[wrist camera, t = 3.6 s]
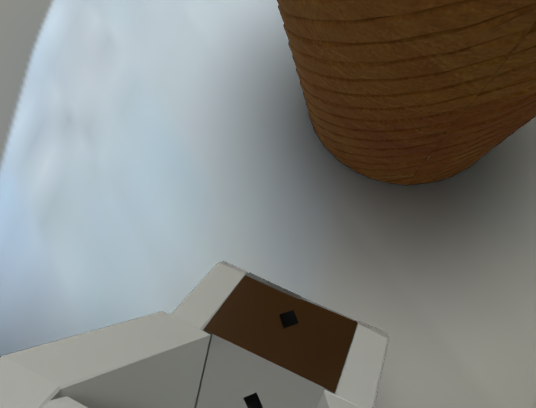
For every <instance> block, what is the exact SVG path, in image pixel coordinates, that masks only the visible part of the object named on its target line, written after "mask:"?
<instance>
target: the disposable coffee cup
mask: <svg viewBox="0 0 536 408" xmlns="http://www.w3.org/2000/svg"><path fill="white" fill-rule="evenodd" d="M277 2H278V4H279V6H278V8H279V11H280V14H281V16H282V19H283V22H284V25H283V26H284V29H285V31H286V34H287V36H288V39H289V47H290V49H291V51H292V54H293V60H294V62H295V65H296V67H297V68H296V71H297V73H298V76H299V79H300V84H301V87H302V89H303V94H304V97H305V100H306V105H307V108H308V113H309V117H310V120H311V122H312V125H313V128H314V131H315V132H316V134H317V135H318V137H319V139H320V140H321V142H322V143H323V145H324V146H325V147H326V148H327V149H328V150H329V151H330V152H331V153H332V154H333V155H334V156H335V157H336V158H337V159H338V160H339V161H340V162H342V163H343V164H345V165H346V166H348V167H350V168H351V169H353V170H354V171H356V172H357V173H360V174H362V175H364V176H367V177H369V178H372V179H376V180H380V181H384V182H388V183H393V184H403V185H413V184H421V183H429V182H436V181H439V180H442V179H446V178H449V177H452V176H454V175H456V174H457V173H459V172H461V171H463V170H465V169H467V168H469V167H470V166H471V165H473V164H474V163H475V162H476V161H477V160H479V159H480V158H481V157H482V156H484V155H485V154H486V153H487V152H489V151H490V150H491V149H492V148H494V147H495V146H497V145H498V144H500V143H501V142H502V141H503V140H505V139H506V138H507V137H508V136H510V135H511V134H513V133H514V132H515V131H516V130H518V129H519V128H520V127H522V126H523V125H525V124H526V123H528V122H529V121H530V120H531V119H532V118H534V117H535V116H536V0H277Z"/></svg>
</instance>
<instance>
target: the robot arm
mask: <svg viewBox="0 0 536 408" xmlns="http://www.w3.org/2000/svg"><path fill="white" fill-rule="evenodd" d="M388 341H389V335H388V333H387V332H384V331H382V330H380V329H377V328H375V327H372V326H370V325H367V324H365V323H363V322H360V321H358V322H357V321H356V320H353V319H351V318H349V317H347V316H344V315H342V314H340V313H337V312H335V311H333V310H330V309H328V308H326V307H323V306H321V305H319V304H317V303H314V302H312V301H310V300H307V299H305V298H303V297H301V296H299V295H297V294H295V293H292V292H290V291H288V290H286V289H284V288H282V287H280V286H277V285H275V284H273V283H271V282H269V281H267V280H265V279H262V278H260V277H258V276H256V275H254V274H252V273H250V272H249V273H248V272H247V271H244V270H242V269H240V268H238V267H236V266H234V265H231V264H229V263H227V262H225V261H222V262H220V263H217V264H216V265H215V266H214V267H213V268H212V269H211V271H210V272H209V273H208V274H207V275H206V276H205V277H204V278H203V279H202V280H201V282H200V283H199V284H198V285H197V286H196V287H195V288H194V289H193V290H192V291H191V293H190V294H189V295H188V296H187V297H186V298H185V299H184V300H183V301H182V303H181V304H180V305H179V306H178V307H177V308H176V309H175V310H174V311H173V312H172V314H171V315H169V314H167V313H165V312H163V311H161V312H158V313H154V314H151V315H147V316H143V317H140V318H136V319H133V320H129V321H125V322H122V323H118V324H115V325H111V326H108V327H104V328H100V329H97V330H93V331H90V332H86V333H82V334H79V335H75V336H72V337H68V338H64V339H61V340H57V341H54V342H50V343H47V344H43V345H39V346H36V347H32V348H29V349H25V350H21V351H18V352H14V353H11V354H7V355H3V356H1V357H0V408H374V406H375V401H376V397H377V392H378V387H379V383H380V378H381V373H382V369H383V364H384V360H385V355H386V350H387V346H388Z"/></svg>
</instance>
